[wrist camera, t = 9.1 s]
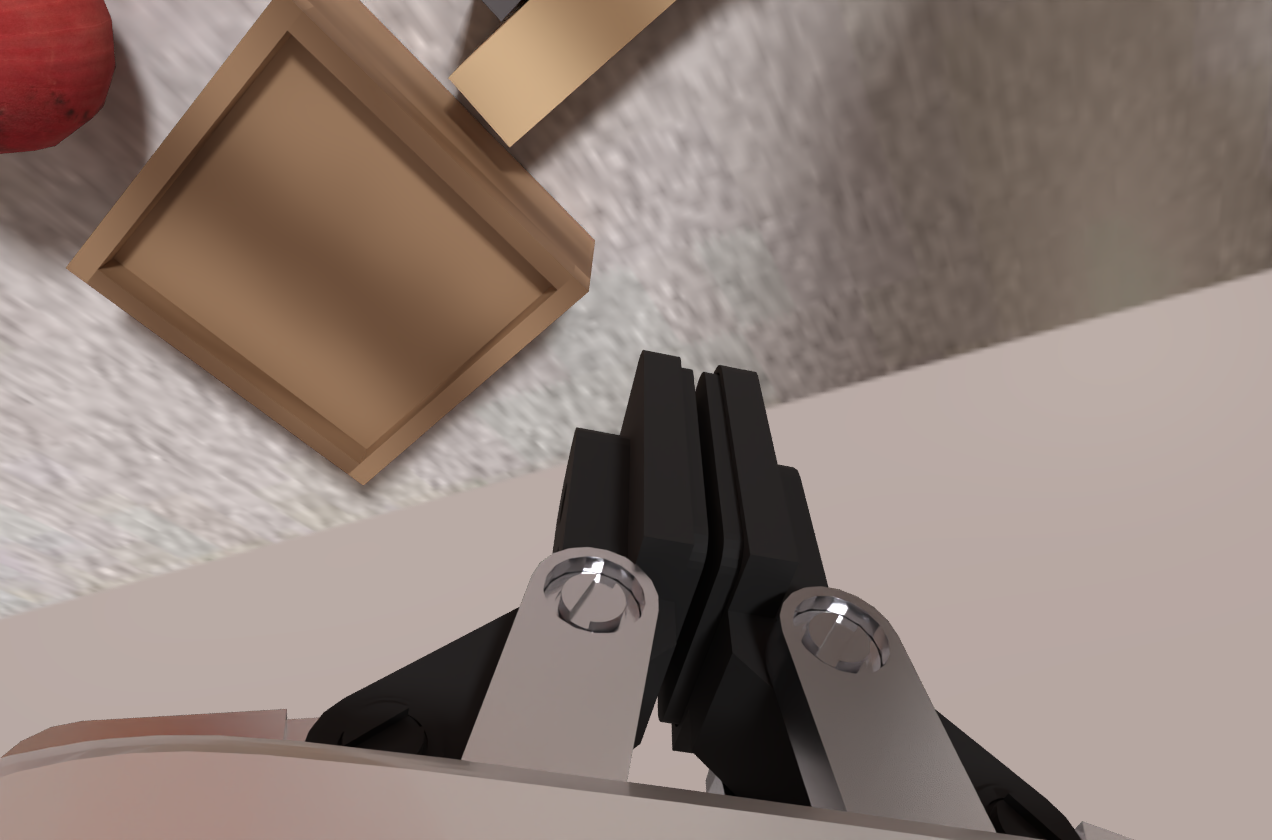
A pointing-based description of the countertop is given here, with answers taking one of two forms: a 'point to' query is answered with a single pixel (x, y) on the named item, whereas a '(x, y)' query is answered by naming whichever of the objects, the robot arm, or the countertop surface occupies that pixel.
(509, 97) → the leg
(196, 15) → the countertop surface
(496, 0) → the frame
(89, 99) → the onion
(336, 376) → the wooden tray
